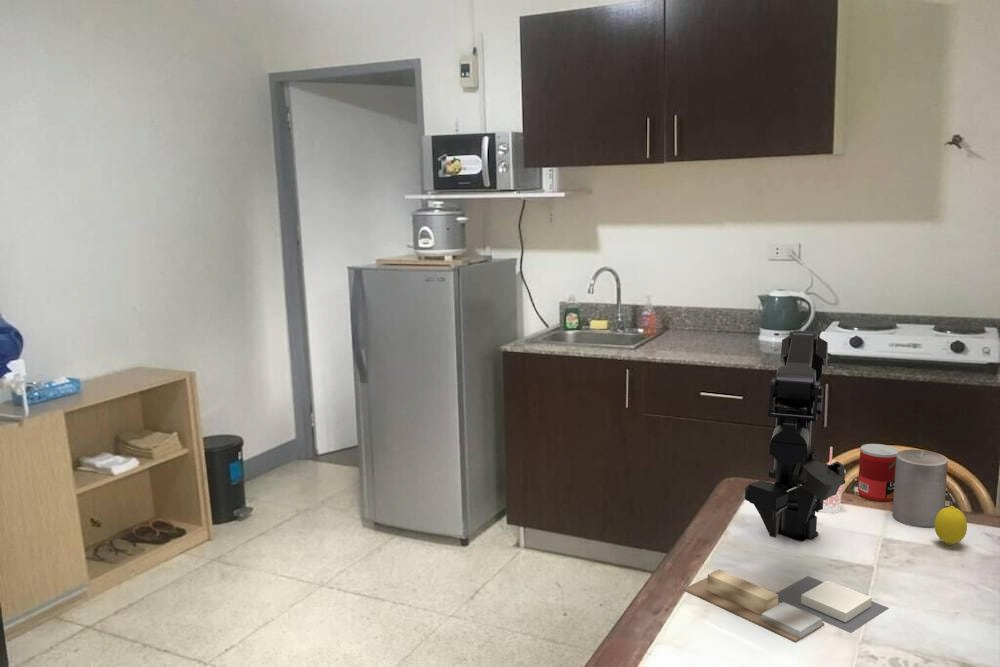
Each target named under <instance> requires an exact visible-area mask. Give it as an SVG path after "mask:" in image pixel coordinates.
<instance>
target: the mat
mask: <svg viewBox="0 0 1000 667" xmlns="http://www.w3.org/2000/svg"><path fill="white" fill-rule="evenodd" d="M823 582H824V581H822V580H819V579H816V578H814V577H811V576H809V575H807V576H805V577H803V578H801V579H799V580H798V581H796V582H793V583H792V584H790V585H789V586H787V587H785V588H783V589H781V590H779V591H778V592H775V594H778V603H779V604H780V603H782V602H785V603H787V604H789V605H792V606H794V607H796V608H799V609H801V610H803V611H805V612H808V613H810V614H812V615H815V616H817V617H819V618H822V622H823V623H826V624H828V625H831V626H833V627H836V628H838V629H841V630H842V631H845V632H848V633H850V634H852V633H854V632H855V631H856V630H858V629H860V628H861V627H862V626H864V625H866V624H867V623H869V622H870V621H872V620H873V619H876V617H879V615H881V614H882V613H884V612H885V611H887V610H889V609H890V608H889V607H888V606H885V605H883V604H880V603H879V602H875V601H873V600H872V601H871V607H869V608H868V609H866V610H864V611H863V612H861V613H860V614H858V615H857V616H855V617H853V618H852V619H850V620H849V621H847V622H843V621H841V620H838V619H836V618H834V617H831V616H829V615H827V614H824V613H822V612H820V611H817V610H815V609H812V608H810V607H808V606H805V605H803V604H801V595H802V594H804V593H806V592H807V591H809V590H811V589H813V588H815V587H816V586H818V585H820V584H822V583H823Z"/></svg>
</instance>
